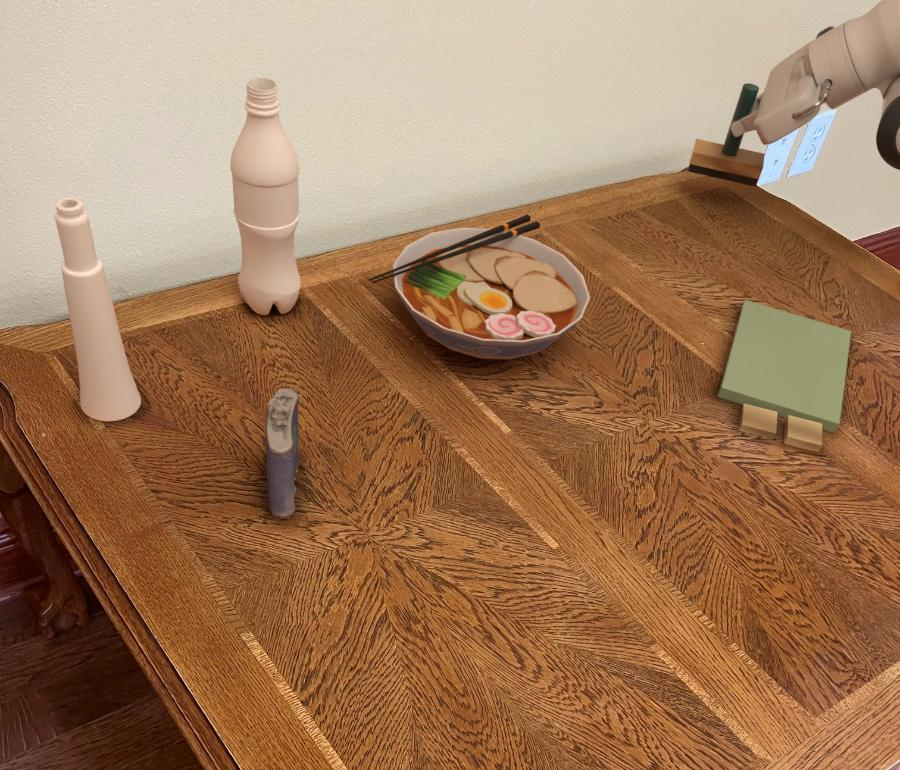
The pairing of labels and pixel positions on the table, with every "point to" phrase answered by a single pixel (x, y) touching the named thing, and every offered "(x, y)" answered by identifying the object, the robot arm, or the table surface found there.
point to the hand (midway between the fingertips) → (734, 125)
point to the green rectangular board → (787, 365)
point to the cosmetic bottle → (93, 321)
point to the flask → (282, 452)
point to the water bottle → (266, 203)
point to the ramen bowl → (489, 290)
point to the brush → (730, 150)
